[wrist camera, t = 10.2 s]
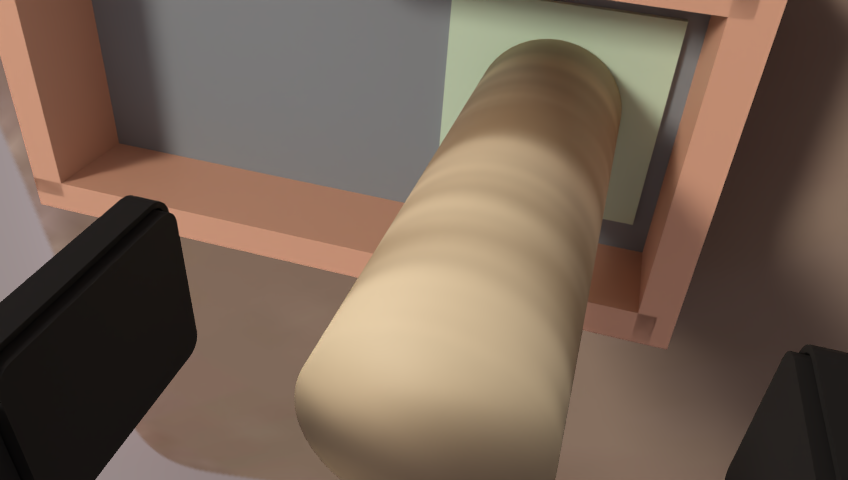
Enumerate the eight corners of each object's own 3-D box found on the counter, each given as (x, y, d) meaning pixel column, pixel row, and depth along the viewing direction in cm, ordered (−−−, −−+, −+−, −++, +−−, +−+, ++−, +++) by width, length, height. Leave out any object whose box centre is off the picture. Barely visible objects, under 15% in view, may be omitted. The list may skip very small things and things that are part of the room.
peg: (484, 27, 19) (288, 301, 10) (637, 52, 19) (582, 376, 9) (469, 159, 22) (299, 483, 12) (604, 186, 21) (534, 556, 11)
